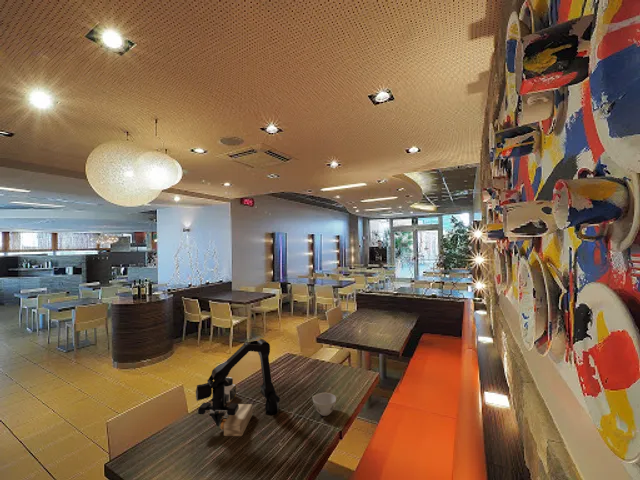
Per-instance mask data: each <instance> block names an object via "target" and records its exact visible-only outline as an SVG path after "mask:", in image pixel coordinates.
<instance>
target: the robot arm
mask: <svg viewBox="0 0 640 480" xmlns="http://www.w3.org/2000/svg"><path fill="white" fill-rule="evenodd" d="M249 352H254V353H257V354H258V355H259V359H260V367H261V368H260V369H261V375H262V385H259V388H260V394H261V395H262V396H263V398H264V399H265V403H264V406H265V407H264V411H265V413H264V414H265V415H278V413H279V411H280V410H279V409H280V406H279V402H280V401H281V397H280V396H279V395H278V394H277V391H276V390H275V386H274V384H273V382H272V375H271V374H272V373H271V368H270V367H271V366H270V358H269V356H270V353H271V345H270V343H269V342H268V341H267V340H266V339H263V338H260V339H258V340H252V341H245V342H243V344H242V345H241V346H240V347H239V348H238V349H237V350H236V351H235V352H234V353H233V354H232V355H231V356H230V357H229V358H228V359H227V360H225V361H224V362H222V363H220V364H218V365H217V366H216V367H214V368H213V369H212V370H211V373H210V374H211V375H210V376H209V378H208V379H207V382H205V383H202V384H197V385H196V389H195V400H196V401H197V402H198V401H202V400H205V399H208V398H209V399H210V400H211V401H210V402H202V403H201V405H200V406H199V407H198V409H197V414H198V415H205V413H206V411H209V417H210V418H212V420H213V421H214V423H215V424H216V426H217V427H220V426H221V421H222V419H223V418H224V417H225V416H224V415H225V413H226V412H227V414H228V415H235V414H236V412H237V411H238V409H239V405H238V404H239V403H233V402H230V404H229V406H228V405H227V404H228V402H227V401H229V394H226V393H225V385H226V384H229V382H228V381H227V380H226V379H225V378H226V377H229V374H230V372H231V370H232V369H233V368H234V367H235V366H236V365H237V364H238V363H240V361H241V360H242V359H243V358H244V357H245V356H246V355H248V354H249ZM210 397H212V398H210ZM211 402H212V404H211ZM219 412H220V413H219ZM222 417H223V418H222Z"/></svg>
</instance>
